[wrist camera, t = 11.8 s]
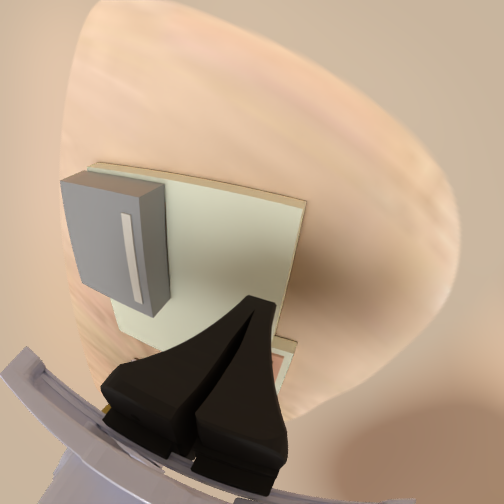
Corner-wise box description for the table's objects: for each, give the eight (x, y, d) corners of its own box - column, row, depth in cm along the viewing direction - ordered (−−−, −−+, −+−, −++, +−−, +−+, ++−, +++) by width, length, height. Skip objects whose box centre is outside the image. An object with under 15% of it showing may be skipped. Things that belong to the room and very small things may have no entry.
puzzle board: (280, 385, 20) (276, 397, 19) (125, 323, 23) (118, 331, 22) (338, 209, 12) (337, 220, 11) (98, 162, 15) (84, 167, 14)
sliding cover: (170, 298, 17) (152, 319, 15) (99, 268, 18) (81, 283, 17) (164, 184, 13) (137, 198, 11) (84, 170, 14) (58, 181, 13)
